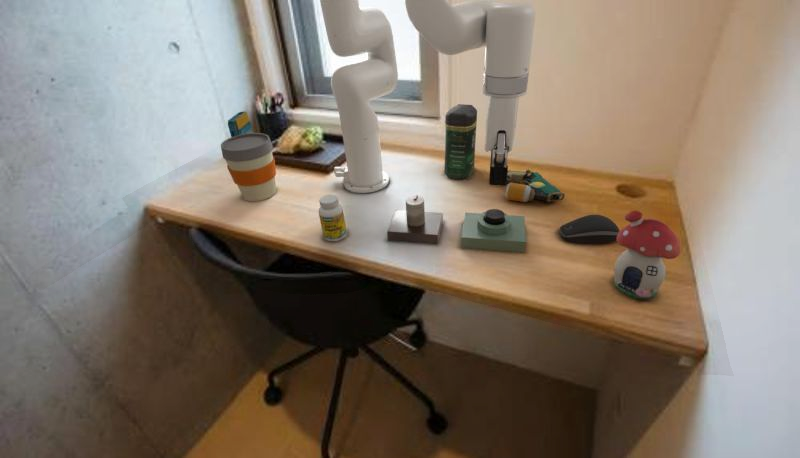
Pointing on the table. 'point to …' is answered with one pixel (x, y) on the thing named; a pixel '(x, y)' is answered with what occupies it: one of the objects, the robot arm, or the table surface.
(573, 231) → the computer mouse
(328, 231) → the supplement bottle
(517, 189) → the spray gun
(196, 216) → the table surface
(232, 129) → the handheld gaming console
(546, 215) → the table surface
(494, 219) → the button
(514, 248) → the green push button panel
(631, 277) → the decorative ornament
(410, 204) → the dial
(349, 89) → the robot arm
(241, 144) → the reusable coffee cup
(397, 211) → the dial panel
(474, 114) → the coffee jar
